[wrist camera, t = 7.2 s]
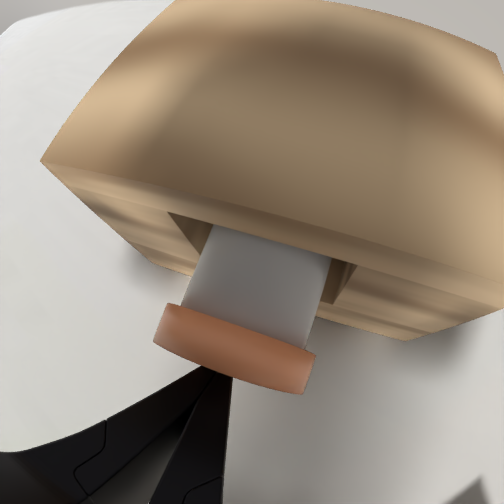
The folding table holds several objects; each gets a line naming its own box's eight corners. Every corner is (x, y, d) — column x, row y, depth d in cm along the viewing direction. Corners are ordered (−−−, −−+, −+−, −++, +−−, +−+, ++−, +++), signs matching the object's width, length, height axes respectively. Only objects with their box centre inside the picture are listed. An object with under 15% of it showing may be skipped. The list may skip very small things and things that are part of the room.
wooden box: (404, 341, 15) (534, 295, 5) (152, 263, 18) (39, 160, 8) (429, 178, 17) (495, 53, 8) (218, 125, 20) (179, -4, 11)
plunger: (300, 388, 11) (307, 401, 7) (182, 346, 12) (124, 331, 8) (355, 198, 14) (377, 124, 9) (251, 171, 15) (235, 95, 10)
